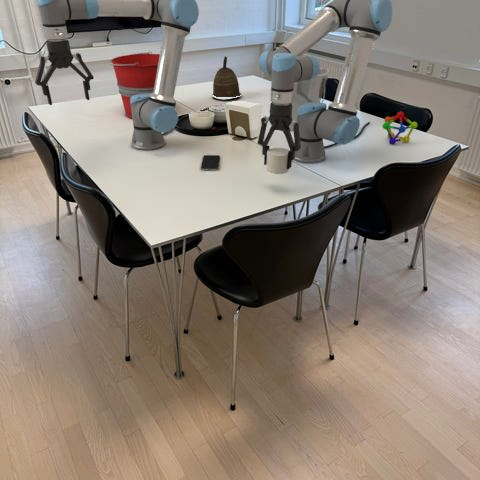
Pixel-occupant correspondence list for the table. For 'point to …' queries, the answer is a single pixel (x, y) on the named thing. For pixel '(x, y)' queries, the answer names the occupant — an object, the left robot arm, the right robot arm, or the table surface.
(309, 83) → the bucket
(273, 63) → the right robot arm
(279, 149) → the canister
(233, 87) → the bell
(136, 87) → the bucket
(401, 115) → the educational toy
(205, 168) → the smartphone
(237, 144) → the table surface
